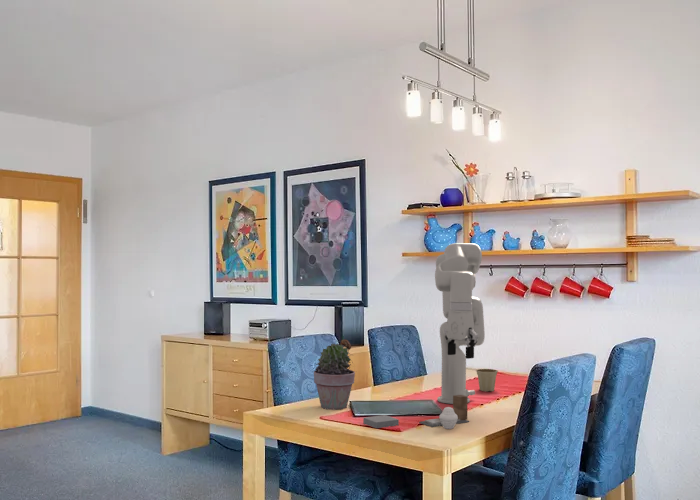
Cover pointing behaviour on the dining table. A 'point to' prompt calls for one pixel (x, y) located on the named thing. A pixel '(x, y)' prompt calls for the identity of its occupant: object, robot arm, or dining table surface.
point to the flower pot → (486, 379)
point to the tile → (380, 421)
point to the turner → (455, 409)
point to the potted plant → (334, 376)
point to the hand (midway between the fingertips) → (460, 356)
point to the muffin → (448, 418)
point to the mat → (441, 423)
